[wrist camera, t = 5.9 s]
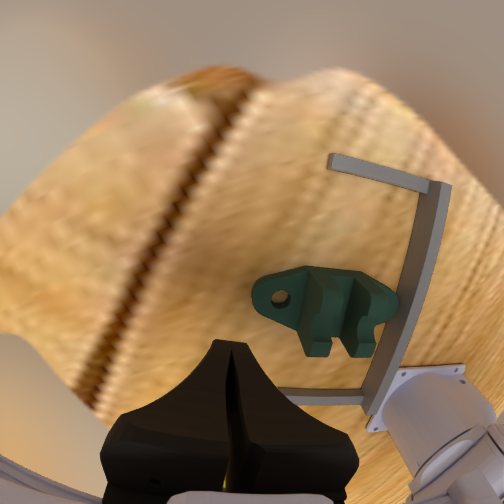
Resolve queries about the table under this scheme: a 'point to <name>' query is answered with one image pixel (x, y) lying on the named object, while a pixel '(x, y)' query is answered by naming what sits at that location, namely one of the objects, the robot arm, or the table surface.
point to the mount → (327, 307)
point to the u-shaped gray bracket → (408, 291)
